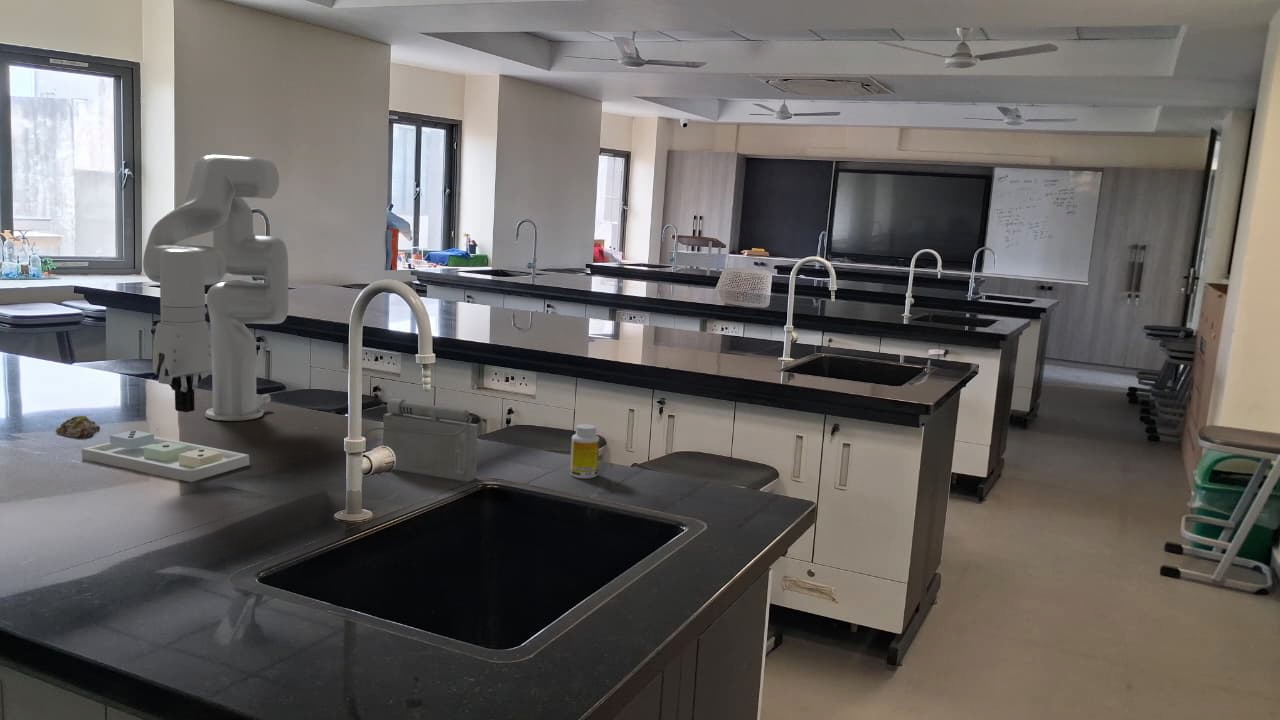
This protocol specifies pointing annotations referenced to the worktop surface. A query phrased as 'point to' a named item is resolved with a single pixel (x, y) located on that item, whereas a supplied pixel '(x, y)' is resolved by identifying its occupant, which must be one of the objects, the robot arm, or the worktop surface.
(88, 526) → the worktop surface
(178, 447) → the key one dot
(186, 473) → the key panel
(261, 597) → the worktop surface
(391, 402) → the geiger counter
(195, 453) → the key two dots
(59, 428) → the mineral rock
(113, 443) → the key three dots
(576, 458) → the supplement bottle
